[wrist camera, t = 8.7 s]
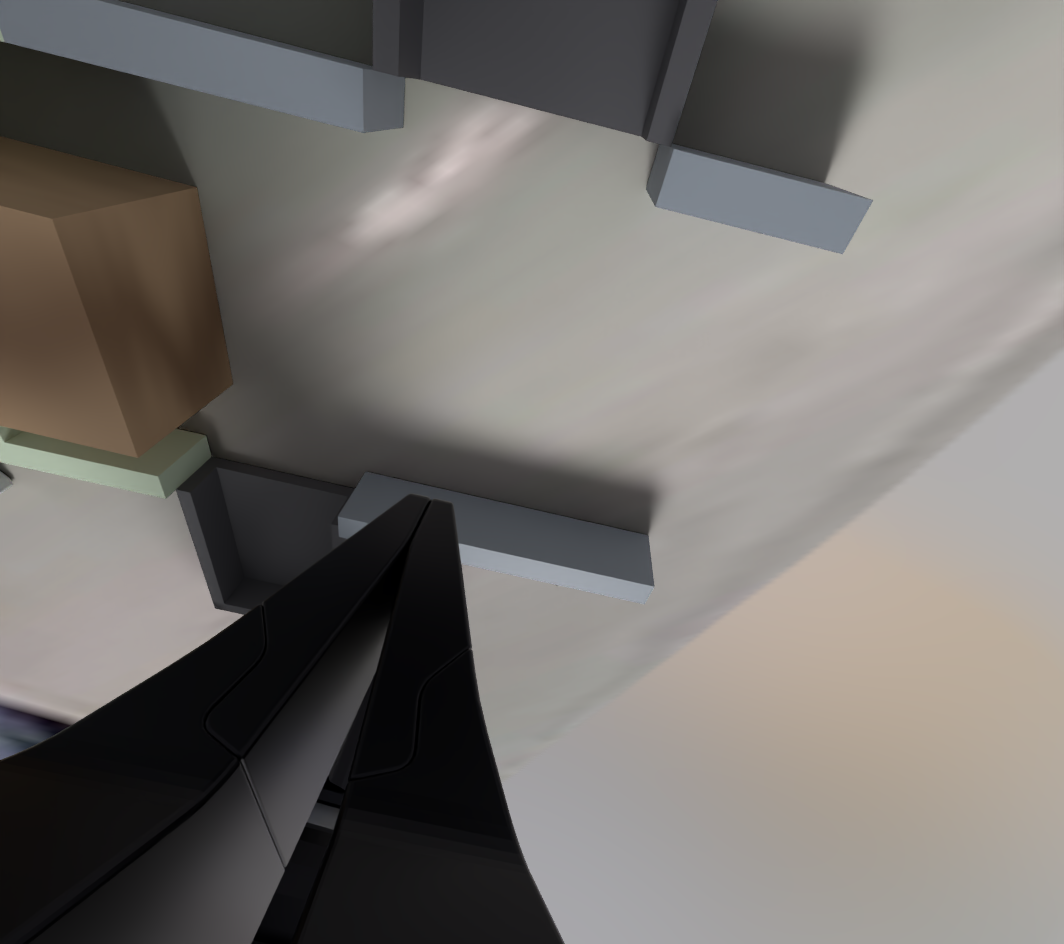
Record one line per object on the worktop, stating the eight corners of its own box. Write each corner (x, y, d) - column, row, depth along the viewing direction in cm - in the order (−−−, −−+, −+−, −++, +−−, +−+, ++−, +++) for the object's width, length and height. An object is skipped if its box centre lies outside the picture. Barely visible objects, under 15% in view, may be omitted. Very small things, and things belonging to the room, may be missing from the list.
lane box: (591, 649, 24) (590, 698, 22) (113, 545, 23) (67, 588, 21) (1096, -356, 7) (1287, -532, 5) (-570, -873, 6) (-1105, -1320, 4)
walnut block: (235, 382, 17) (138, 457, 13) (58, 339, 16) (-91, 404, 13) (200, 186, 13) (51, 218, 10) (-28, 126, 13) (-269, 137, 9)
